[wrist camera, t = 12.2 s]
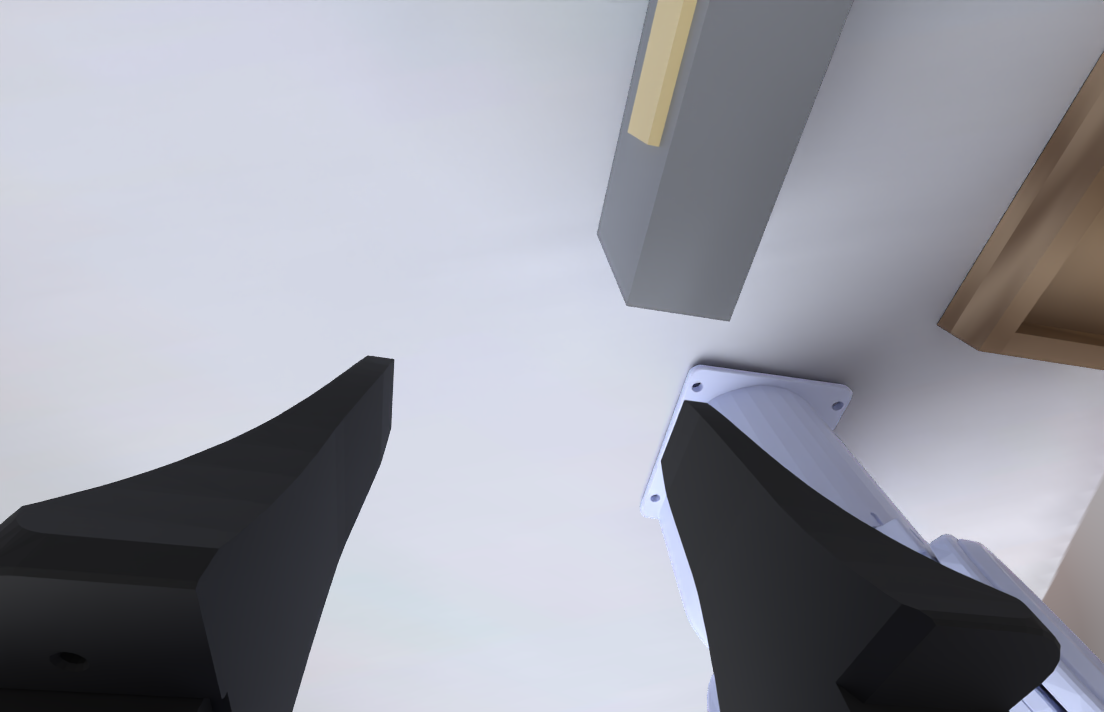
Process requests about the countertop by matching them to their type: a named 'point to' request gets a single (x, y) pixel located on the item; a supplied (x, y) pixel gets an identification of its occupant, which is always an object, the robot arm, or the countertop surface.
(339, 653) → the countertop surface
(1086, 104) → the tray
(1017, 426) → the countertop surface
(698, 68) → the wall unit
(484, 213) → the countertop surface
